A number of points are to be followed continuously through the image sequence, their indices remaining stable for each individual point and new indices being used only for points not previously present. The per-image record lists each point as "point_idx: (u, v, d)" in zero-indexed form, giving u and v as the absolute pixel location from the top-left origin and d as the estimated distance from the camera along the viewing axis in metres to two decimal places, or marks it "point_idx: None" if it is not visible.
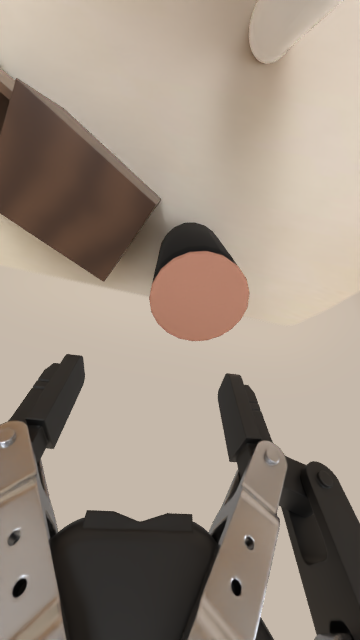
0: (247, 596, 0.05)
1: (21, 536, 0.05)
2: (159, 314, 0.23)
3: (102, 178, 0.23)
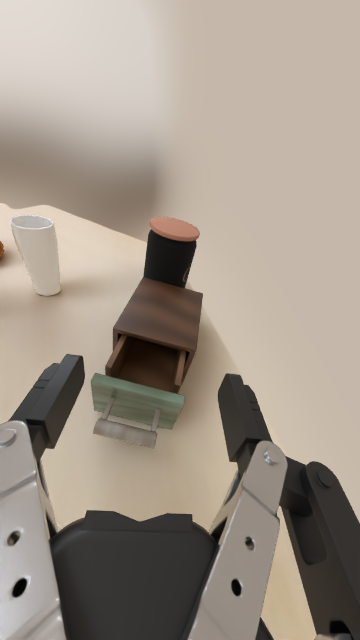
0: (247, 596, 0.05)
1: (21, 536, 0.05)
2: (191, 234, 0.42)
3: (143, 295, 0.37)
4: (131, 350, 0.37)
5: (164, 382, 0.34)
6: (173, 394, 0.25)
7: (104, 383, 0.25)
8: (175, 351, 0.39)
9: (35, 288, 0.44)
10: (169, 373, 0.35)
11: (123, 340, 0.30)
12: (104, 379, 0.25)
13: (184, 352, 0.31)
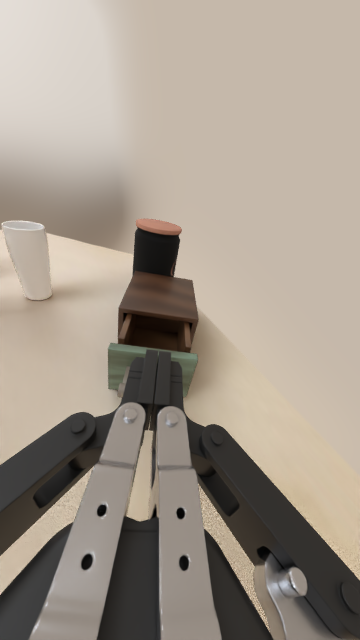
0: (194, 559, 0.05)
1: (106, 514, 0.05)
2: (175, 229, 0.46)
3: (139, 283, 0.40)
4: (134, 336, 0.39)
5: None
6: (186, 353, 0.27)
7: (121, 349, 0.26)
8: (175, 333, 0.41)
9: (26, 293, 0.44)
10: None
11: (129, 318, 0.32)
12: (120, 347, 0.26)
13: (187, 323, 0.34)
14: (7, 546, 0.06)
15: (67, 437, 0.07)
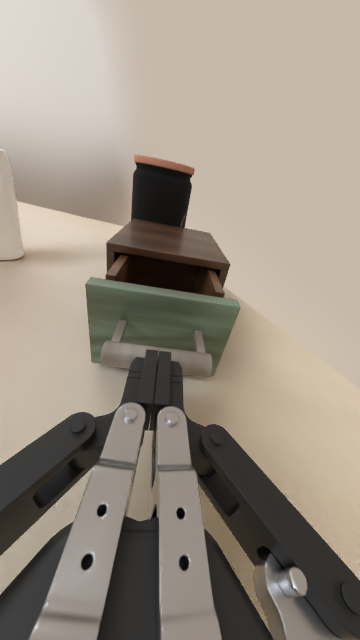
0: (194, 558, 0.05)
1: (105, 514, 0.05)
2: (187, 166, 0.35)
3: (139, 227, 0.28)
4: None
5: None
6: (219, 298, 0.16)
7: (109, 286, 0.15)
8: None
9: None
10: None
11: (125, 257, 0.21)
12: (108, 283, 0.15)
13: (212, 269, 0.22)
14: (7, 546, 0.06)
15: (67, 437, 0.07)
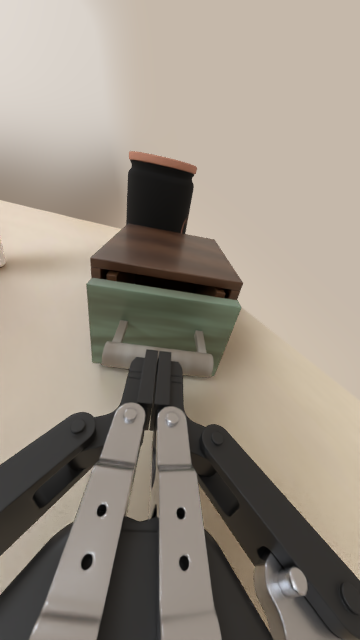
0: (194, 559, 0.05)
1: (105, 514, 0.05)
2: None
3: (133, 235, 0.24)
4: None
5: None
6: (220, 298, 0.16)
7: (110, 286, 0.15)
8: None
9: None
10: None
11: None
12: (109, 283, 0.15)
13: None
14: (7, 546, 0.06)
15: (67, 437, 0.07)
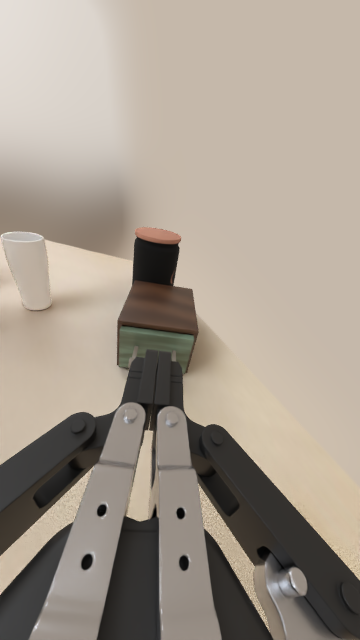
0: (194, 558, 0.05)
1: (106, 514, 0.05)
2: (175, 238, 0.46)
3: (138, 293, 0.40)
4: None
5: None
6: (184, 334, 0.33)
7: (130, 331, 0.31)
8: None
9: (25, 303, 0.44)
10: None
11: None
12: (129, 329, 0.32)
13: None
14: (7, 546, 0.06)
15: (67, 437, 0.07)
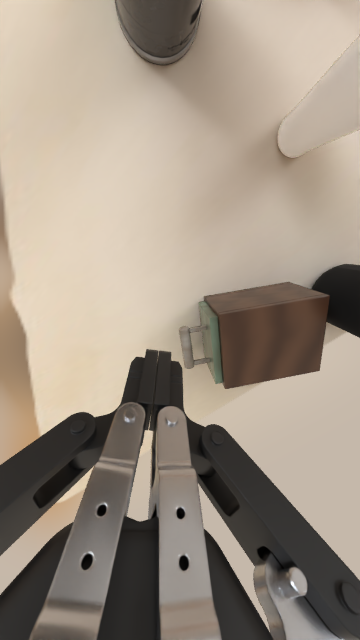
0: (194, 558, 0.05)
1: (106, 514, 0.05)
2: None
3: (287, 314, 0.29)
4: None
5: None
6: (221, 375, 0.32)
7: (211, 328, 0.29)
8: None
9: (283, 124, 0.27)
10: None
11: None
12: (214, 326, 0.29)
13: None
14: (7, 546, 0.06)
15: (67, 437, 0.07)
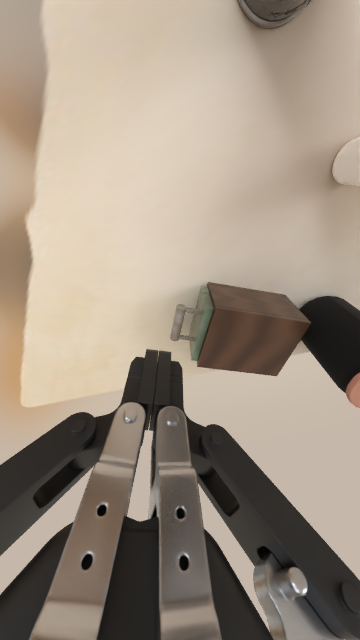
0: (194, 559, 0.05)
1: (105, 514, 0.05)
2: (357, 402, 0.30)
3: (271, 326, 0.33)
4: None
5: None
6: (198, 354, 0.37)
7: (205, 316, 0.33)
8: None
9: (346, 147, 0.27)
10: None
11: None
12: (208, 315, 0.33)
13: None
14: (7, 546, 0.06)
15: (67, 437, 0.07)
